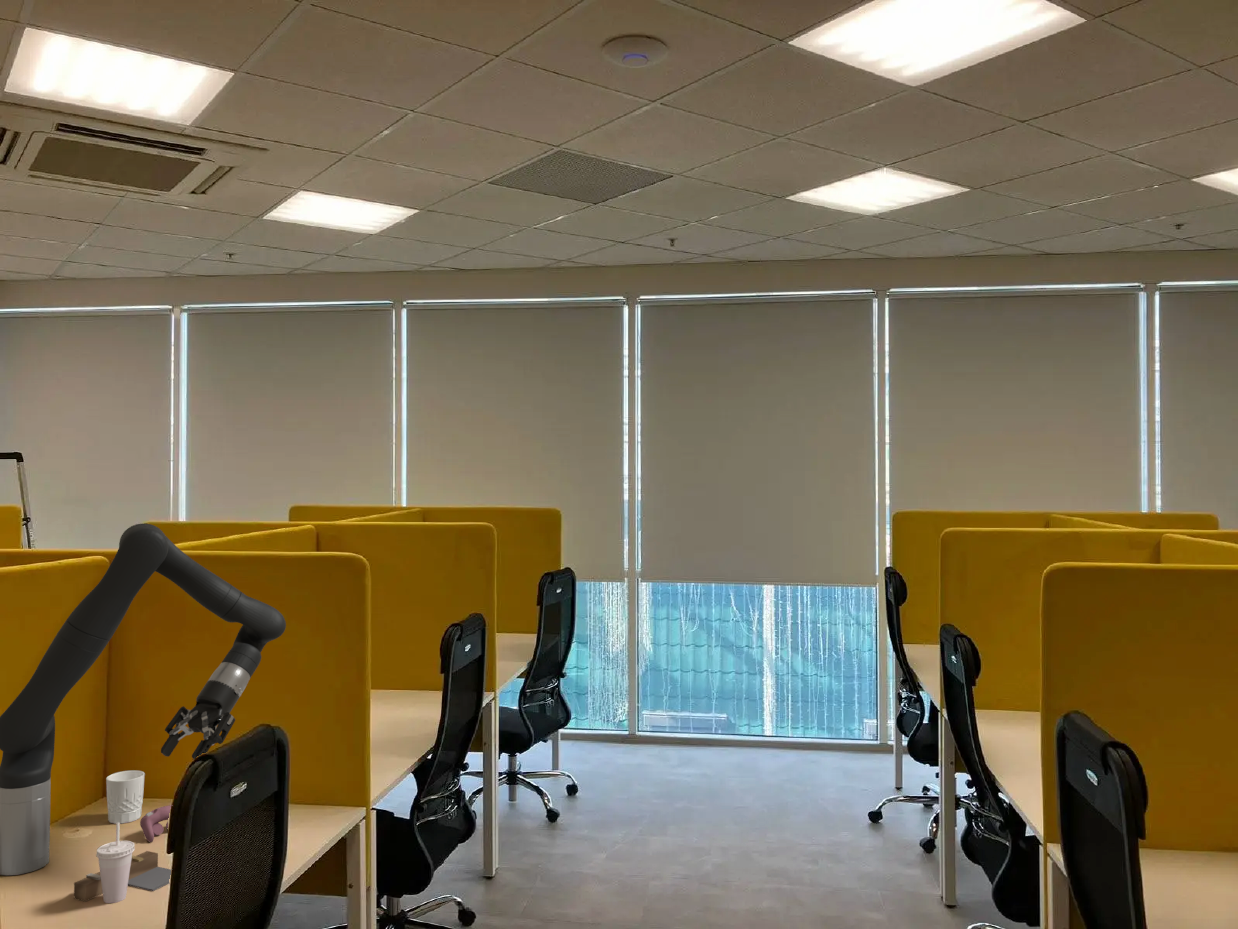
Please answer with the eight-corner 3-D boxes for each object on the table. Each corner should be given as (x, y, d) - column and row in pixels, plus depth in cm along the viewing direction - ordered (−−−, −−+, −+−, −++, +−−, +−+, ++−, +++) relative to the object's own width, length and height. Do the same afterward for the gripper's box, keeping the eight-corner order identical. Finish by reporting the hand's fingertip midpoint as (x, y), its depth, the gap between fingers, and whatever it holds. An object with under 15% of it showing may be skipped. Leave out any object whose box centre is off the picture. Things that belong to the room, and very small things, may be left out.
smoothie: (141, 892, 173) (142, 818, 174) (119, 907, 167) (120, 831, 167) (110, 890, 174) (111, 817, 174) (87, 905, 168) (88, 829, 168)
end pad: (122, 884, 177) (122, 882, 177) (157, 868, 184) (157, 866, 184) (152, 891, 174) (152, 889, 174) (186, 874, 181) (187, 873, 181)
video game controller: (186, 833, 206) (180, 803, 208) (194, 829, 204) (188, 798, 206) (141, 847, 199) (135, 815, 201) (149, 842, 196) (143, 810, 198)
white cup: (110, 814, 214) (110, 772, 214) (147, 811, 216) (147, 769, 216) (101, 826, 206) (102, 782, 206) (140, 823, 208) (140, 779, 209)
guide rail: (73, 898, 170) (73, 880, 170) (146, 865, 185) (146, 849, 185) (85, 901, 169) (85, 883, 169) (157, 868, 184) (158, 851, 184)
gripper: (189, 676, 196) (143, 743, 185) (240, 681, 190) (195, 751, 179) (208, 695, 200) (164, 762, 189) (258, 701, 195) (216, 770, 184)
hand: (179, 757), depth 184 cm, fingers open, 8 cm apart
